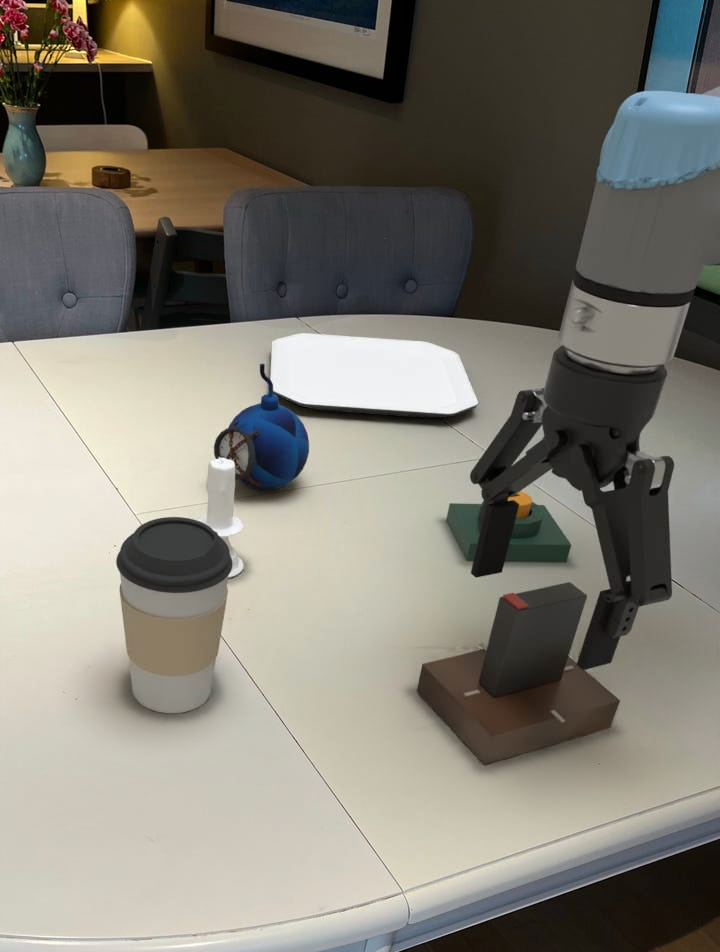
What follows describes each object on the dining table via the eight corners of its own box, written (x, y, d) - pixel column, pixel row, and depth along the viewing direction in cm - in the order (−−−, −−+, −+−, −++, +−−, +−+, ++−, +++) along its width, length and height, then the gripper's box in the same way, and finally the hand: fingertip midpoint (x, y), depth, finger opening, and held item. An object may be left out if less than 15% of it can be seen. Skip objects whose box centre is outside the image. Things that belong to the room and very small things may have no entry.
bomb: (197, 484, 115) (202, 359, 107) (262, 459, 122) (271, 339, 113) (258, 516, 110) (267, 386, 101) (321, 488, 117) (336, 364, 108)
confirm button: (522, 504, 108) (526, 489, 107) (533, 520, 105) (536, 505, 104) (490, 503, 108) (494, 489, 107) (500, 519, 105) (503, 504, 104)
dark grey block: (544, 665, 85) (570, 578, 80) (561, 680, 83) (588, 592, 78) (477, 682, 82) (500, 594, 77) (493, 698, 81) (517, 609, 76)
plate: (271, 343, 157) (272, 330, 156) (452, 356, 157) (454, 342, 156) (268, 415, 133) (269, 399, 132) (481, 430, 134) (484, 414, 132)
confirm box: (539, 521, 113) (548, 490, 111) (566, 562, 106) (576, 529, 103) (445, 520, 112) (452, 488, 110) (466, 561, 105) (473, 528, 102)
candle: (187, 576, 99) (190, 466, 92) (196, 549, 103) (200, 443, 96) (239, 582, 98) (247, 472, 92) (246, 555, 103) (254, 449, 96)
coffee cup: (106, 712, 81) (101, 555, 72) (133, 649, 88) (132, 499, 80) (214, 728, 80) (223, 571, 71) (232, 663, 87) (242, 513, 79)
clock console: (532, 657, 91) (540, 629, 89) (615, 732, 83) (626, 703, 81) (412, 687, 86) (418, 658, 84) (488, 769, 78) (496, 739, 76)
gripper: (460, 302, 74) (413, 547, 87) (711, 434, 56) (606, 721, 68) (539, 296, 77) (483, 534, 89) (803, 420, 59) (686, 698, 71)
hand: (536, 616), depth 79 cm, fingers open, 13 cm apart
